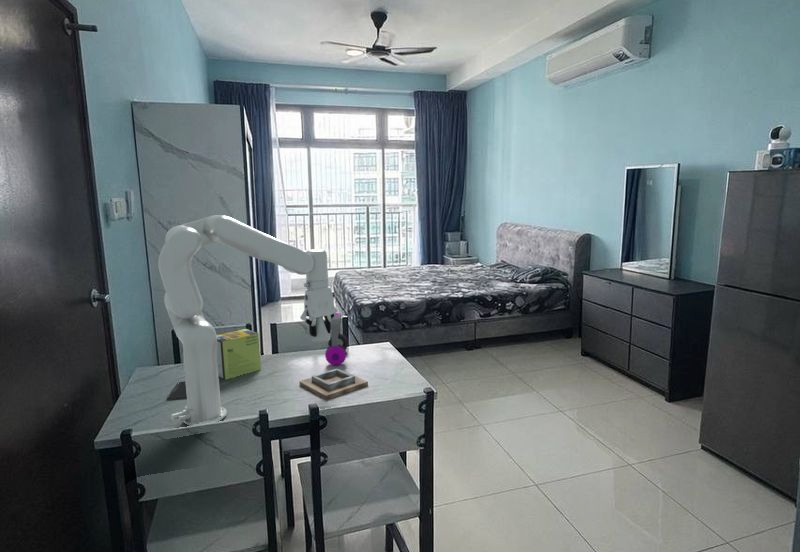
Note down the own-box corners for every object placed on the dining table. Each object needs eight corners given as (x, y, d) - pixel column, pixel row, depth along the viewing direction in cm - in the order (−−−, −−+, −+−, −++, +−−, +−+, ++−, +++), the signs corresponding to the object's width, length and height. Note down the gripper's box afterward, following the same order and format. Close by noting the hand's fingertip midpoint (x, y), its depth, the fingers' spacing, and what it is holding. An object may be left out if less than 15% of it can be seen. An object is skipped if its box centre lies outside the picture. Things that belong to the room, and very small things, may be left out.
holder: (326, 399, 156) (325, 390, 156) (299, 385, 170) (299, 376, 169) (368, 385, 168) (367, 376, 168) (340, 372, 182) (339, 364, 181)
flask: (326, 343, 161) (325, 316, 159) (307, 343, 162) (305, 315, 161) (333, 337, 168) (332, 311, 166) (314, 337, 169) (313, 310, 168)
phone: (200, 380, 174) (189, 395, 160) (200, 383, 174) (190, 399, 160) (177, 382, 173) (165, 398, 158) (178, 384, 173) (165, 401, 158)
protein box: (261, 369, 187) (259, 332, 184) (225, 380, 176) (222, 341, 173) (248, 363, 194) (246, 328, 191) (212, 374, 183) (209, 336, 180)
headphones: (329, 351, 208) (327, 308, 205) (348, 350, 209) (347, 307, 206) (325, 367, 188) (322, 319, 185) (346, 366, 189) (344, 319, 185)
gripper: (301, 289, 153) (305, 341, 156) (343, 282, 165) (346, 331, 168) (290, 286, 159) (294, 337, 162) (331, 280, 170) (334, 327, 173)
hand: (320, 333), depth 165 cm, fingers closed on flask, 5 cm apart
